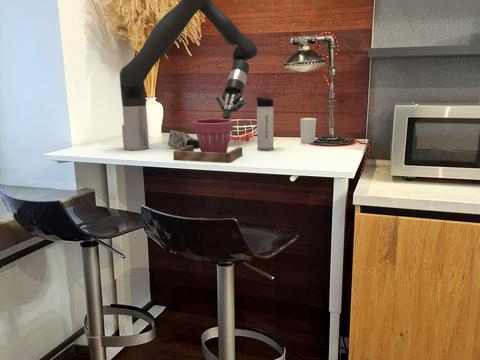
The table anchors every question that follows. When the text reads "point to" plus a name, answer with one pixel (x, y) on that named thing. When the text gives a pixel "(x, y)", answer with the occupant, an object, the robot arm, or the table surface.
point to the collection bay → (206, 155)
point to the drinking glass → (308, 130)
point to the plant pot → (213, 134)
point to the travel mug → (264, 124)
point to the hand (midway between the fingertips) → (225, 118)
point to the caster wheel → (181, 140)
